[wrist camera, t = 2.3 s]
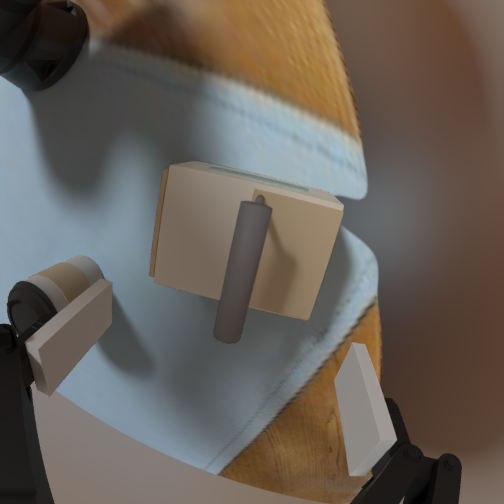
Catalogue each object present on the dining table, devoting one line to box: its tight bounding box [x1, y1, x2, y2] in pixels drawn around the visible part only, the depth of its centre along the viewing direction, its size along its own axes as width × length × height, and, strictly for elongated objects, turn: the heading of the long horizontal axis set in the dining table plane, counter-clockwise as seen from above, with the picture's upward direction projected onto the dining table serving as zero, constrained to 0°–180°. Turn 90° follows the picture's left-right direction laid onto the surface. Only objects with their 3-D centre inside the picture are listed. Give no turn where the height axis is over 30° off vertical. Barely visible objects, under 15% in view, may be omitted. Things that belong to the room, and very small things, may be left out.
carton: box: [149, 161, 344, 321], centre depth 33 cm, size 12×17×9 cm
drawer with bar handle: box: [213, 189, 344, 344], centre depth 25 cm, size 11×8×8 cm
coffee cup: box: [7, 255, 103, 336], centre depth 35 cm, size 9×9×15 cm
